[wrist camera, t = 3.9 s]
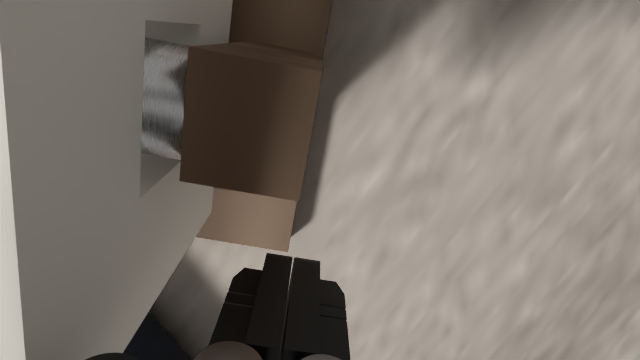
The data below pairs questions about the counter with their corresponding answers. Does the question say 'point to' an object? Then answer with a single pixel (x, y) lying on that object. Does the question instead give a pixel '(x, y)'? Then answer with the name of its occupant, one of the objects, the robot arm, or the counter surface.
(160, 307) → the counter surface
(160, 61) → the steel pipe
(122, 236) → the white flat block
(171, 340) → the pipe connector
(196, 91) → the pipe stand
